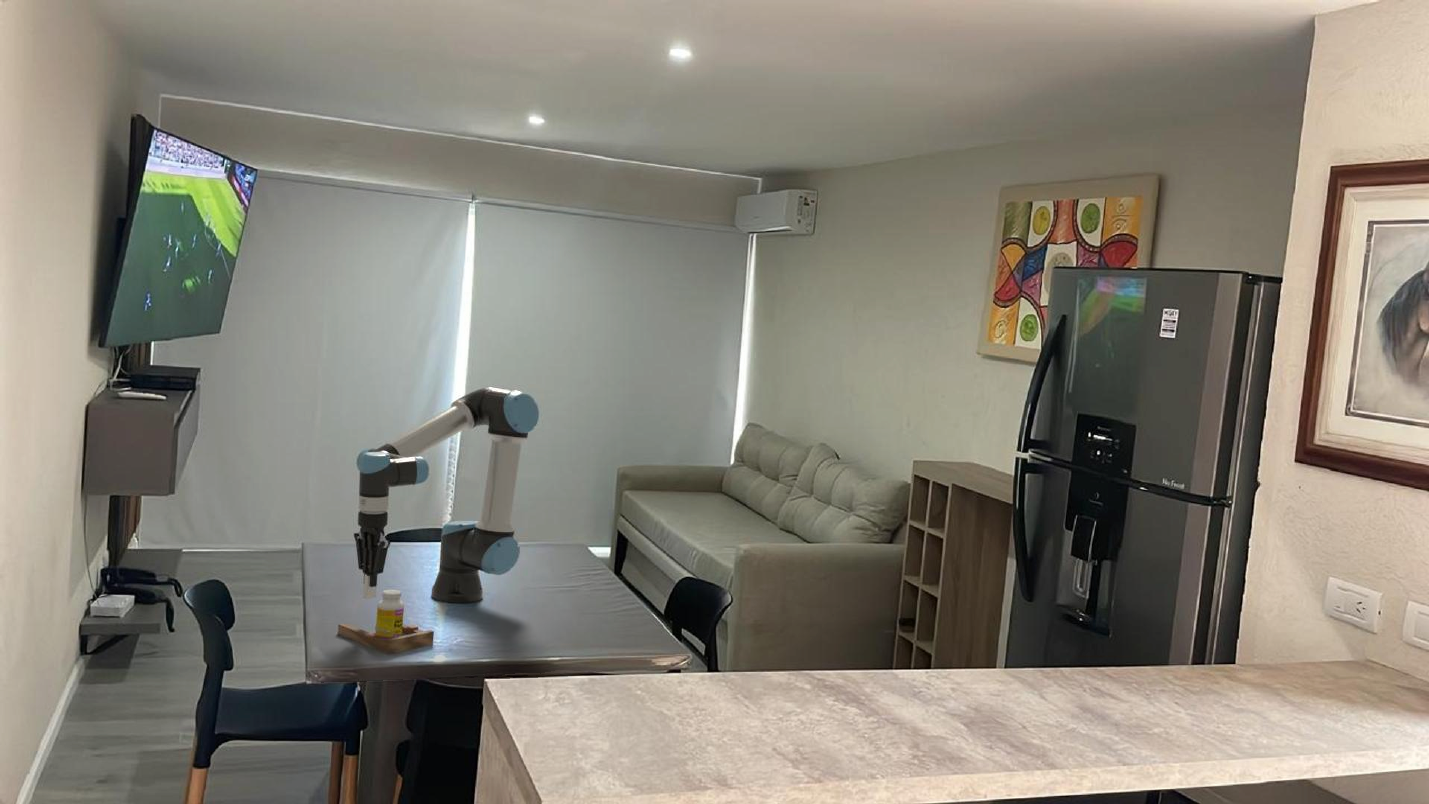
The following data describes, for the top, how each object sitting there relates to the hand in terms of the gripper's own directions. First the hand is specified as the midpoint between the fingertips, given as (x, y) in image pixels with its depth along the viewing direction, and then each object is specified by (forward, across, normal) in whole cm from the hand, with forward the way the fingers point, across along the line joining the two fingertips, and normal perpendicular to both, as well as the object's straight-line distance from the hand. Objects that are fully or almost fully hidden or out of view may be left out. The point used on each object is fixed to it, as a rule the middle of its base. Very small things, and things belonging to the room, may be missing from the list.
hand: (369, 597), depth 303 cm
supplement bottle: (+9, +10, -1) cm, 13 cm away
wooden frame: (+9, +8, -1) cm, 12 cm away
